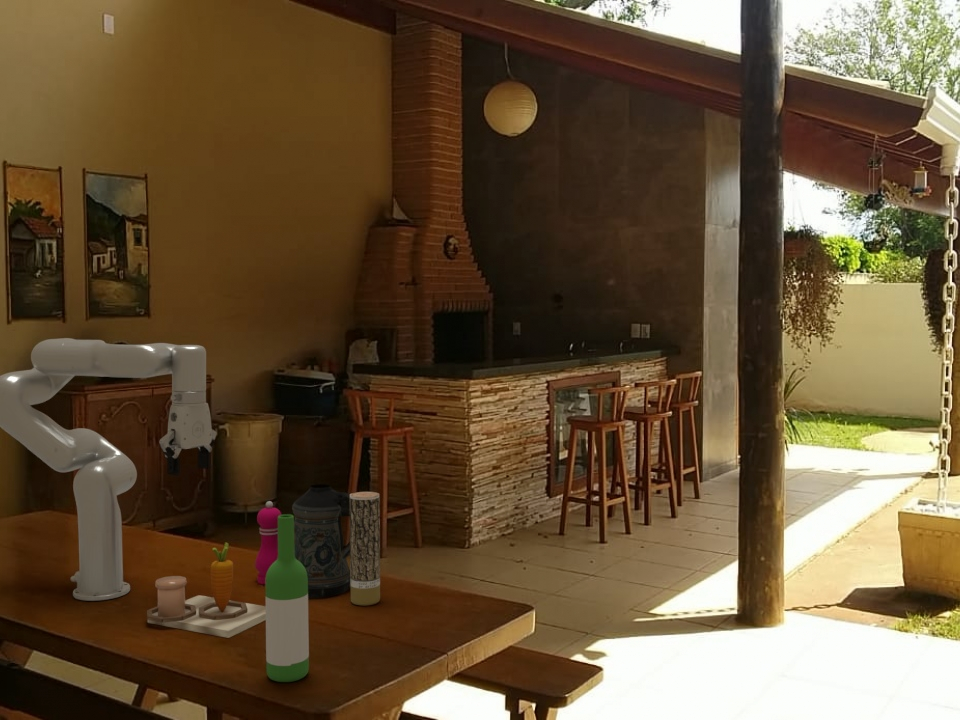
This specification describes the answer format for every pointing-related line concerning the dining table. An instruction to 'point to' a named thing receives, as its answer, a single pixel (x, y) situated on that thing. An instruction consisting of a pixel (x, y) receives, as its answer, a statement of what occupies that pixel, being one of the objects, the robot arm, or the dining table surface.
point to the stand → (212, 617)
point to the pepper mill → (267, 540)
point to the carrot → (222, 578)
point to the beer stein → (322, 540)
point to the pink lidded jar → (171, 596)
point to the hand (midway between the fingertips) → (188, 471)
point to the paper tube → (365, 548)
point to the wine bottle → (286, 610)
